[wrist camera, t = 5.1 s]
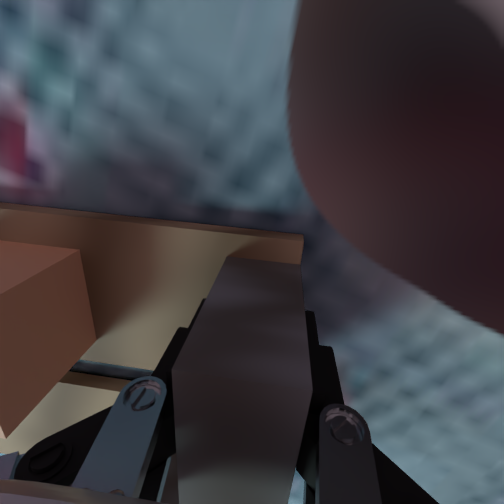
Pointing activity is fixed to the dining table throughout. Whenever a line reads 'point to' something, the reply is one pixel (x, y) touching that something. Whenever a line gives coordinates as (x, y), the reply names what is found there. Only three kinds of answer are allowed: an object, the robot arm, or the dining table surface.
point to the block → (39, 324)
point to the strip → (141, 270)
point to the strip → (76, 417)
